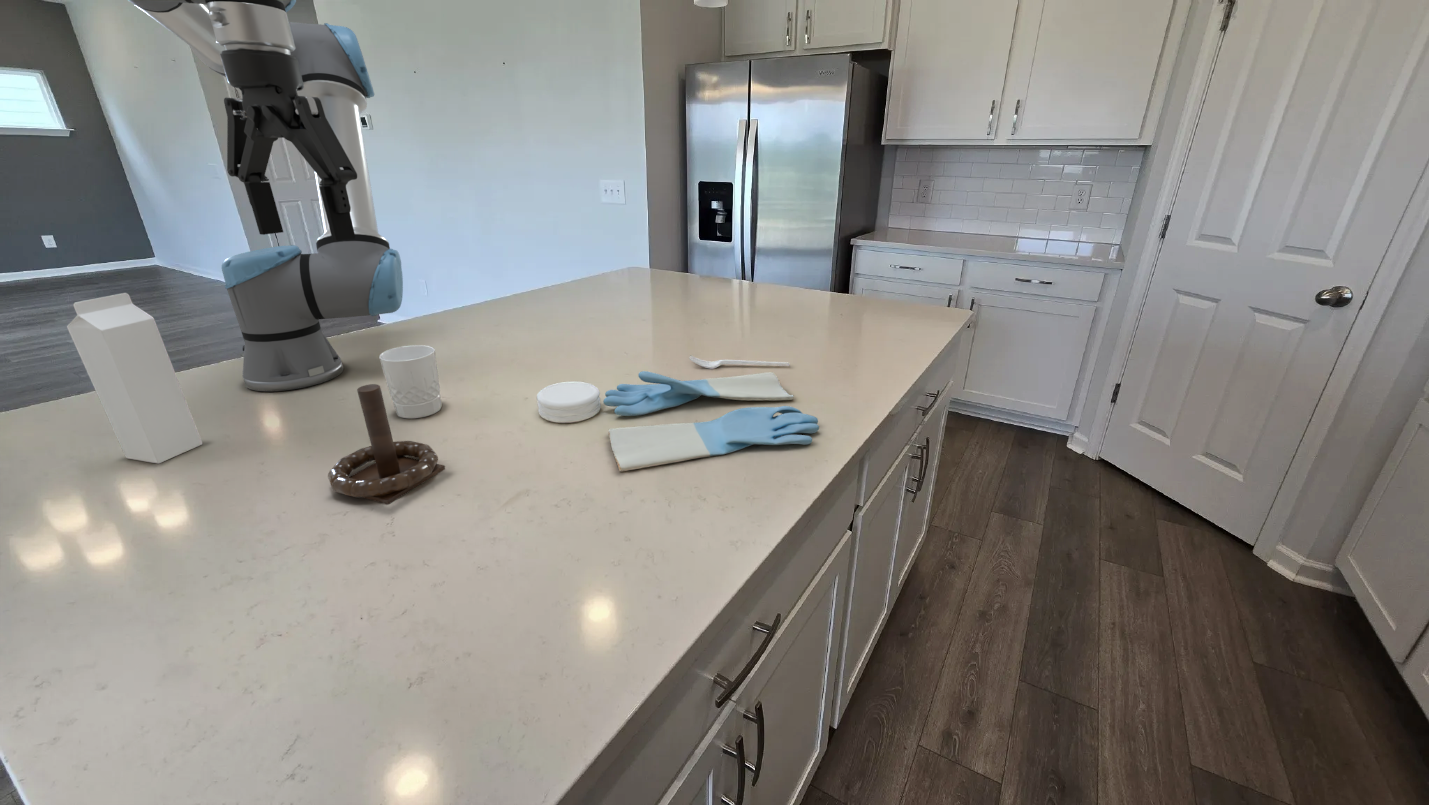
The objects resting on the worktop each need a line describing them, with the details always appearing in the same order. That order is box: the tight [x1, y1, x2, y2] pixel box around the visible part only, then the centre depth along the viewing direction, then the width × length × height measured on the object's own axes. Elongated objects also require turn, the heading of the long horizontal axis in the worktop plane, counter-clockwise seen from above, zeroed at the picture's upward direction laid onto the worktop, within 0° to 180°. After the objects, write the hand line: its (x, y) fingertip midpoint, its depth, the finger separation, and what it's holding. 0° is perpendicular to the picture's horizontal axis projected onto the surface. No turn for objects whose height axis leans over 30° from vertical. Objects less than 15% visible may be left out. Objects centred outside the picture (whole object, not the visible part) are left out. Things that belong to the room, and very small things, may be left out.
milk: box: [66, 292, 203, 464], centre depth 78 cm, size 6×6×22 cm
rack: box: [349, 383, 446, 505], centre depth 72 cm, size 9×9×14 cm
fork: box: [688, 354, 791, 370], centre depth 116 cm, size 3×20×2 cm, turn 89°
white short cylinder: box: [536, 380, 602, 424], centre depth 95 cm, size 10×10×4 cm
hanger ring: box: [327, 440, 439, 498], centre depth 74 cm, size 12×12×2 cm
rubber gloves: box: [602, 370, 820, 472], centre depth 93 cm, size 27×33×6 cm
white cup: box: [378, 344, 443, 419], centre depth 94 cm, size 8×8×10 cm
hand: (307, 236), depth 78 cm, fingers open, 13 cm apart
